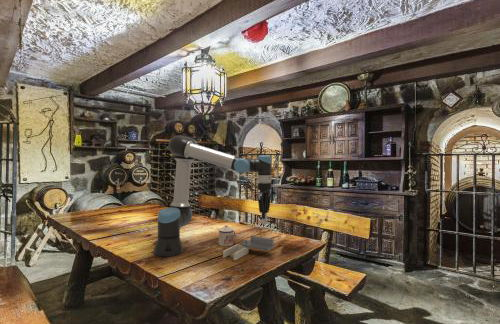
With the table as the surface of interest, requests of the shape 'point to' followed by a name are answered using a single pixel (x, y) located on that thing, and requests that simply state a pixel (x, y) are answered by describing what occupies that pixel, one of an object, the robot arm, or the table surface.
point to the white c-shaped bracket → (238, 254)
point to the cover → (259, 243)
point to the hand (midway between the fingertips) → (264, 224)
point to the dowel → (233, 254)
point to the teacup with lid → (226, 236)
